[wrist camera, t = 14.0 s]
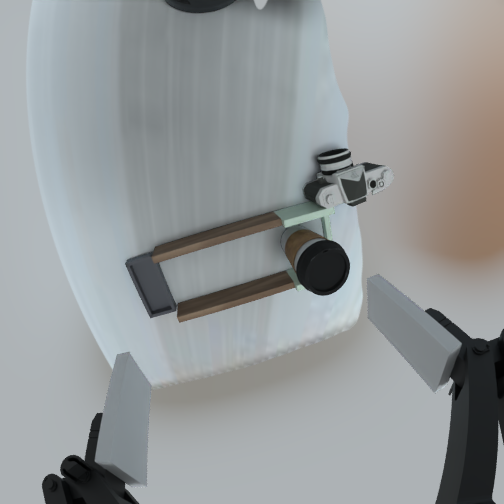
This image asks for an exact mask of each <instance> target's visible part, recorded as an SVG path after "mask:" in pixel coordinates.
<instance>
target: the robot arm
mask: <svg viewBox="0 0 504 504" xmlns="http://www.w3.org/2000/svg"><path fill="white" fill-rule="evenodd" d="M165 1H166V2H167V3H169V4H170V5H171V6H173V7H175V8H177V9H180V10H184V11H188V12H209V11H214V10H218V9H221V8H223V7H226V6H228V5H230V4H231V3H233V2H234V1H235V0H165ZM367 290H368V291H367V292H368V319H369V320H370V321H371V322H372V323H373V324H374V325H375V326H376V327H377V329H378V330H379V331H380V332H381V333H382V334H383V335H384V336H385V337H386V338H387V339H388V341H389V342H390V343H391V344H392V345H393V346H394V347H395V348H396V349H397V351H398V352H399V353H400V354H401V355H402V356H403V357H404V358H405V360H406V361H407V362H408V363H409V364H410V365H411V366H412V367H413V369H414V370H415V371H416V372H417V373H418V374H419V375H420V377H421V378H422V379H423V380H424V381H425V382H426V383H427V385H428V386H429V387H430V388H431V389H432V391H433V392H435V393H436V392H438V391H439V390H441V389H442V388H443V387H445V386H446V385H447V383H448V381H449V378H450V377H451V378H452V379H453V381H454V382H453V384H452V387H451V389H450V391H449V395H451V393H452V410H451V421H450V431H449V439H448V447H447V453H446V459H445V464H444V470H443V475H442V479H441V484H440V489H439V493H438V496H437V500H436V503H435V504H496V503H495V502H494V501H493V500H492V493H493V487H494V480H495V473H496V463H497V451H498V420H499V424H500V429H501V433H502V438H503V443H504V329H503V330H502V332H501V335H500V337H499V338H496V339H494V340H491V341H486V340H484V339H480V338H477V339H472V338H470V337H469V336H468V335H467V334H466V333H465V332H463V331H462V330H461V329H460V328H459V327H458V326H456V325H455V324H454V323H452V322H451V321H450V320H449V319H448V318H446V317H445V316H444V315H443V314H442V313H441V312H439V311H437V310H434V309H432V308H429V309H427V310H426V311H424V310H423V309H421V308H420V307H419V306H418V305H416V304H415V303H414V302H413V301H411V299H409V298H408V297H407V296H406V295H404V294H403V293H402V292H401V291H399V290H398V289H397V288H396V287H394V286H393V285H392V284H391V283H389V282H388V281H387V280H386V279H384V278H383V277H382V276H380V275H379V274H377V275H375V276H372V277H370V278H367ZM151 387H152V385H151V384H150V383H149V381H148V380H147V378H146V377H145V375H144V374H143V372H142V371H141V369H140V368H139V366H138V365H137V363H136V362H135V360H134V359H133V357H132V356H131V354H130V353H129V352H126V353H122V354H117V357H116V361H115V364H114V368H113V372H112V376H111V380H110V385H109V388H108V393H107V397H106V402H105V406H104V411H103V413H97V414H96V416H95V418H94V419H93V421H92V424H91V429H90V431H91V432H90V433H89V439H88V444H87V450H86V455H85V461H84V460H82V459H81V458H80V457H79V456H76V455H70V456H68V457H66V458H65V459H64V460H63V462H62V464H61V469H60V471H61V474H62V475H63V476H64V477H66V478H60V477H59V476H57V475H55V474H49V475H48V476H46V477H45V478H44V480H43V483H42V489H43V493H44V498H45V503H46V504H139V503H138V502H137V501H136V499H135V498H134V497H133V496H132V495H131V494H130V492H129V491H128V490H126V489H125V483H126V484H128V485H130V486H131V487H147V447H148V425H149V411H150V397H151Z"/></svg>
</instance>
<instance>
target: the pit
mask: <svg viewBox="0 0 504 504" xmlns="http://www.w3.org/2000/svg"><path fill="white" fill-rule="evenodd" d="M153 252H154V251H153ZM153 252H150V253H147V254H144V255H141V256H138V257H135V258H132V259H129V260H127V262H126V263H125V265H126V267H127V269H128V271H129V274H130V276H131V278H132V280H133V283H134V285H135V287H136V289H137V291H138V294H139V296H140V298H141V300H142V302H143V304H144V306H145V308H146V310H147V312H148V314H149V316H150V318H153V317H156V316H160V315H164V314H167V313H171V312H174V311H176V307H177V306H176V304H175V301H174V299H173V297H172V294H171V292H170V290H169V287H168V285H167V282H166V280H165V278H164V275H163V273H162V270H161V268H160V265H159V263H155V264H154V263H153V260H152V258H151V257H152V255H153Z"/></svg>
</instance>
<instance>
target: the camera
mask: <svg viewBox="0 0 504 504" xmlns="http://www.w3.org/2000/svg"><path fill="white" fill-rule="evenodd" d="M318 162H319V164H320V166H321V171H322V172H320V173H317V179H316V180H314V181H311V182H308V183H306V184H305V186H304V187H303V193H304V196H305V198H306V199H308V200H310V201H312V202H315V203H316V204H318V205H320V206H322V207H325V208H327V209H330V208H332V207H335V206H337V205H340V204H342V203H347V205H350V206H355V205H358V204H360V203H363V202H365V201H366V196H367V195H368V193H369V192H371V191H372V195H374V194H376V193H378V192H380V191H382V190H384V189H385V188H387V187H388V186H389V184H390V183H391V182H392V181H393V177H394V175H393V171H392V170H391V169H390V168H388V167H387V166H384V165H376V164H370V163H366V162H364V163H361V164H357V165H356V166H353V163H352V160H351V152H350V151H349V150H348V149H336V150H332V151H328V152H325V153H322V154H320V155H319V156H318Z"/></svg>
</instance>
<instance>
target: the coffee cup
mask: <svg viewBox="0 0 504 504" xmlns="http://www.w3.org/2000/svg"><path fill="white" fill-rule="evenodd" d="M281 246H282V249H283V250H284V252H285V254H286V256H287V258H288V260H289V262H290V263H291V265H292V267H293V269H294V271H295V273H296V274H297V278H298V281H299V282H300V284H301V285H302V286H303V287H304V288H306V289H307V290H309V291H311V292H313V293H314V294H317V295H322V296H324V295H329V294H332V293H334V292H336V291H337V290H339V289H340V288H341V287H342V286H343V284H344V283H345V282H346V280H347V278H348V275H349V270H350V262H349V259H348V256H347V255H346V253H345V251H344V249H343V248H342V247H341V246H340V245H339V244H338V243H336V242H334V241H331V240H328V239H326V238H324V237H322V236H320V235H318V234H316V233H314V232H312V231H310V230H308V229H306V228H305V227H302V226H298V225H296V226H292V227H289V228H288V229H287V230H286V231H285V232H284V233H283V235H282V237H281Z"/></svg>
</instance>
